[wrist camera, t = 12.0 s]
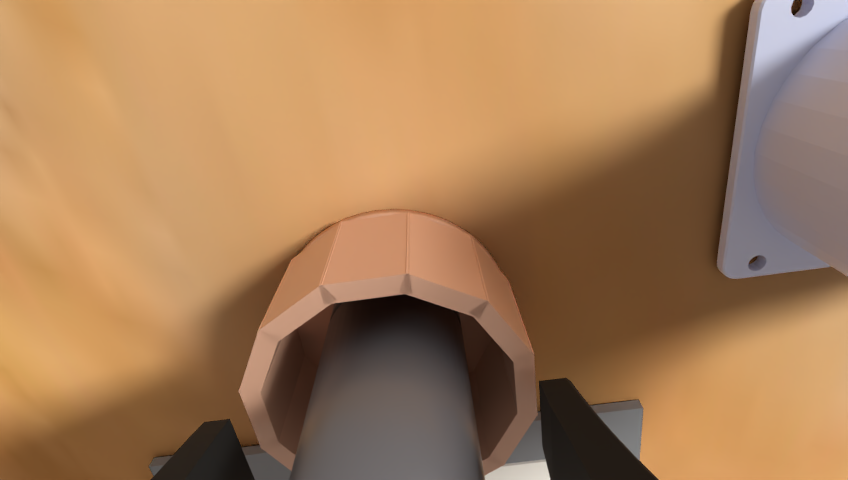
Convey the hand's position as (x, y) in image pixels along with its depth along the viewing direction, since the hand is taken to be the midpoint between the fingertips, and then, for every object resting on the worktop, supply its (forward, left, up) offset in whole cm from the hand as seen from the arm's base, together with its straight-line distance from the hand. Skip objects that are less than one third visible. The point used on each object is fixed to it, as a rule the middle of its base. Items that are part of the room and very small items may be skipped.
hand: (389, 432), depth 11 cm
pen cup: (0, 0, -5) cm, 5 cm away
